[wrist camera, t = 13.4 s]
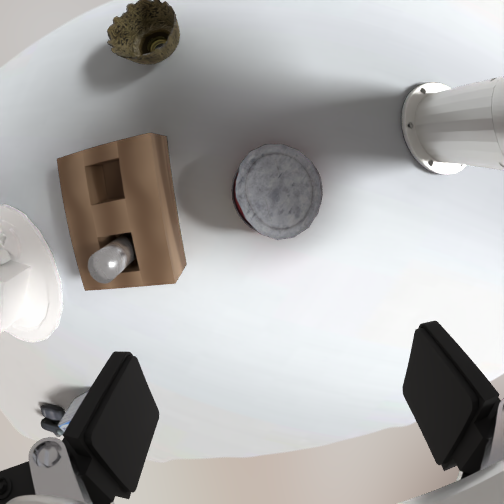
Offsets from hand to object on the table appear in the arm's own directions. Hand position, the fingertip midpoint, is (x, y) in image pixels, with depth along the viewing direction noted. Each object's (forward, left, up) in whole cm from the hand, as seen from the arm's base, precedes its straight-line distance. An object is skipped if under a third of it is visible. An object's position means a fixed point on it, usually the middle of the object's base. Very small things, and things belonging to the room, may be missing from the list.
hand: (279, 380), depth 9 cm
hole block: (+16, -3, -28) cm, 32 cm away
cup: (+10, -23, -28) cm, 37 cm away
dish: (+43, +4, -29) cm, 52 cm away
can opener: (+43, +38, -28) cm, 64 cm away
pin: (+16, +1, -26) cm, 31 cm away
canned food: (-2, -3, -28) cm, 29 cm away
